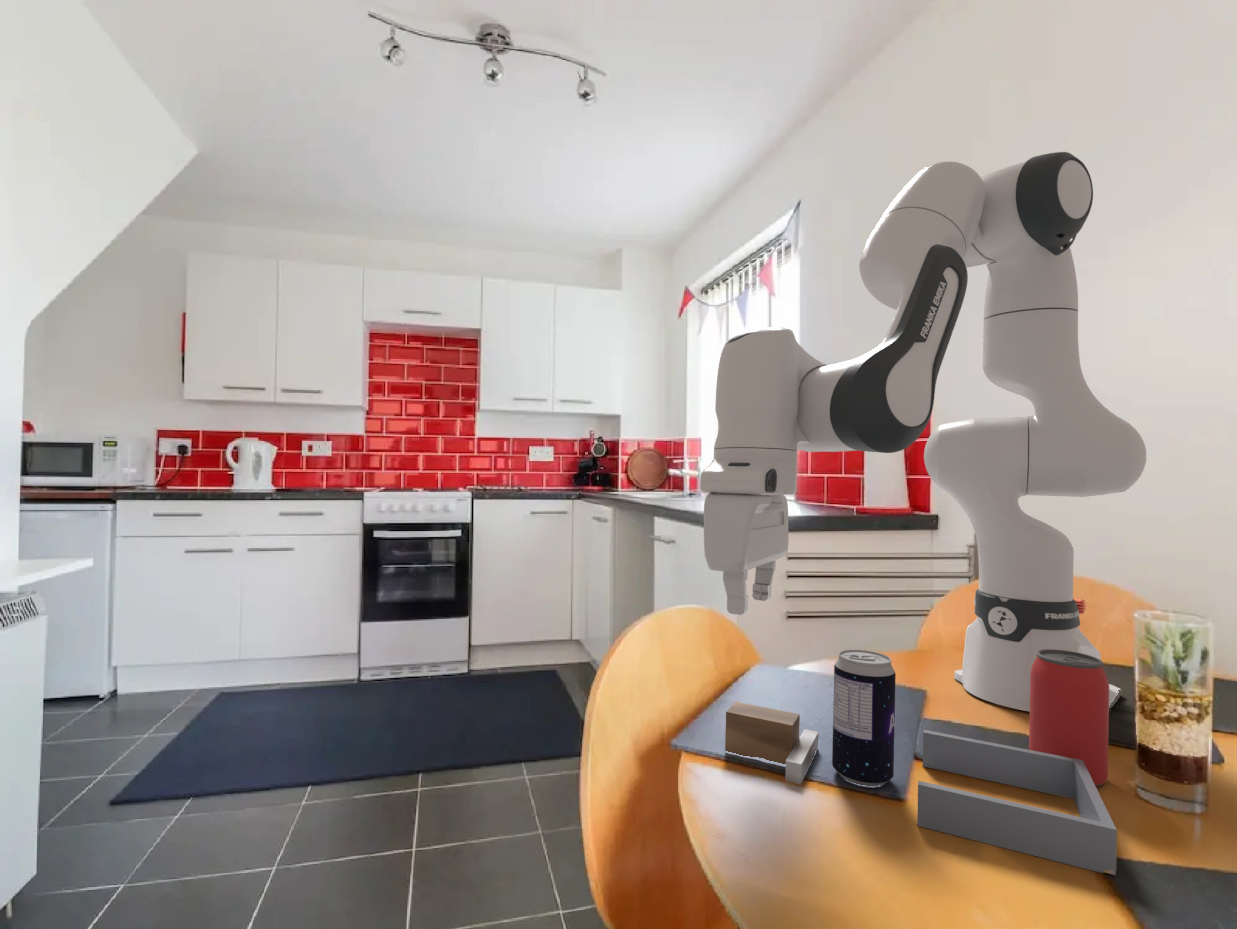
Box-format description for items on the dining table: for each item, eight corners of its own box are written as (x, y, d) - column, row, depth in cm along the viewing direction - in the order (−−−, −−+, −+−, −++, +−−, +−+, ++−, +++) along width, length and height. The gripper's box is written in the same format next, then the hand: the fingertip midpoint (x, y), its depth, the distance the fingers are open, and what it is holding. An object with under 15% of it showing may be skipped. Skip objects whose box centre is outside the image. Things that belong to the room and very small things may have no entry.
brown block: (742, 733, 73) (742, 694, 73) (818, 750, 69) (818, 708, 69) (716, 764, 65) (717, 720, 65) (800, 785, 61) (801, 738, 61)
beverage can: (899, 795, 59) (902, 667, 59) (836, 788, 60) (838, 661, 60) (886, 768, 65) (888, 651, 65) (828, 761, 66) (831, 646, 66)
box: (922, 763, 66) (923, 729, 66) (1082, 797, 60) (1082, 760, 60) (917, 825, 54) (918, 784, 54) (1116, 876, 48) (1116, 829, 48)
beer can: (1073, 793, 60) (1075, 667, 61) (1013, 762, 67) (1015, 649, 67) (1124, 786, 62) (1126, 664, 62) (1061, 757, 68) (1063, 646, 69)
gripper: (751, 479, 79) (748, 590, 78) (693, 473, 61) (688, 618, 60) (803, 480, 76) (799, 596, 75) (758, 475, 58) (754, 627, 57)
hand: (750, 606), depth 68 cm, fingers open, 8 cm apart
